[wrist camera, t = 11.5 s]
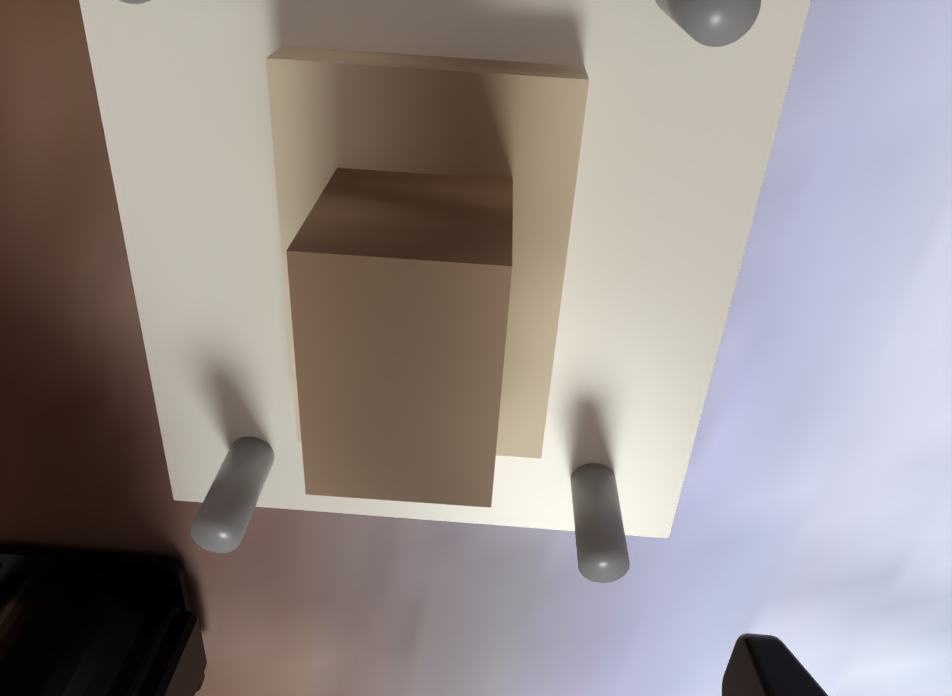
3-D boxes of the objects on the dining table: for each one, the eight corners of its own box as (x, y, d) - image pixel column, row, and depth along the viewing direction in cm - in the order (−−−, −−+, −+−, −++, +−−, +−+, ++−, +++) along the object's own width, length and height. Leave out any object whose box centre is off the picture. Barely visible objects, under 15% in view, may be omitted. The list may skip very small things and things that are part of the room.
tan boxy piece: (308, 412, 20) (250, 564, 16) (282, 45, 15) (187, 114, 11) (539, 428, 20) (546, 585, 16) (584, 66, 15) (612, 143, 11)
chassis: (192, 465, 23) (128, 582, 19) (85, -180, 15) (-65, -200, 11) (660, 501, 23) (688, 626, 19) (816, -127, 15) (922, -128, 11)
